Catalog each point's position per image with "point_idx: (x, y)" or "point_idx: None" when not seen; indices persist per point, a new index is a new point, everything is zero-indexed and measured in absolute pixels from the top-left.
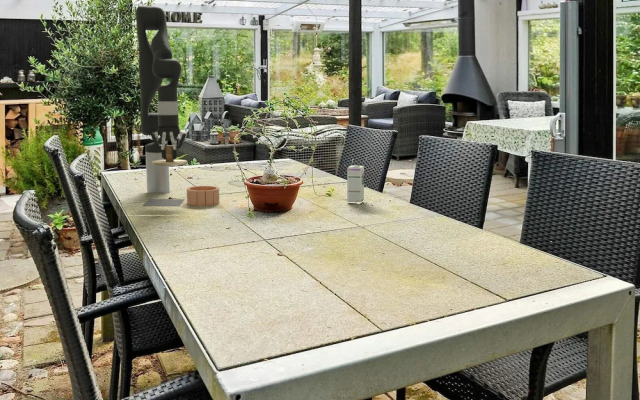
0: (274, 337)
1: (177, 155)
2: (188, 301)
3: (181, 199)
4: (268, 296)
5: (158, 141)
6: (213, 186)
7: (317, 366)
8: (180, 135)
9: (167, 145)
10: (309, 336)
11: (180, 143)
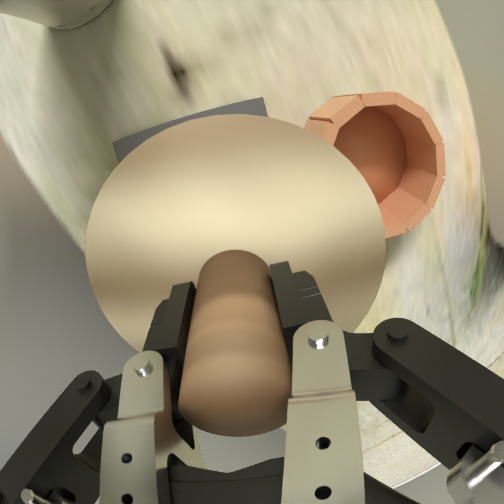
0: (411, 474)
1: (316, 283)
2: (376, 478)
3: (249, 109)
4: (420, 460)
5: (74, 443)
6: (417, 109)
7: (419, 475)
8: (459, 497)
9: (203, 404)
10: (424, 468)
11: (414, 416)
